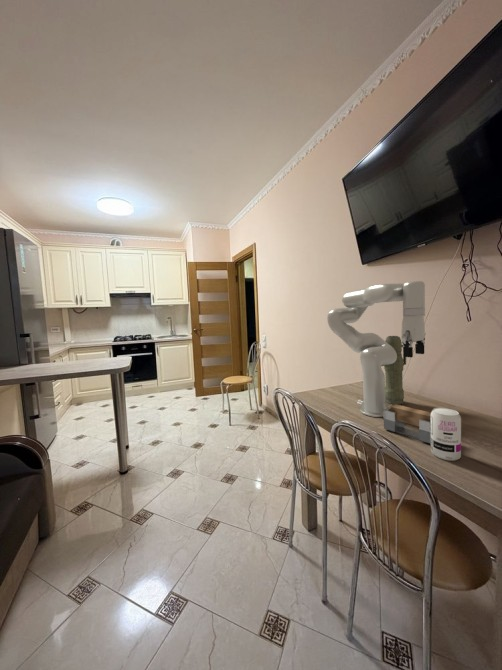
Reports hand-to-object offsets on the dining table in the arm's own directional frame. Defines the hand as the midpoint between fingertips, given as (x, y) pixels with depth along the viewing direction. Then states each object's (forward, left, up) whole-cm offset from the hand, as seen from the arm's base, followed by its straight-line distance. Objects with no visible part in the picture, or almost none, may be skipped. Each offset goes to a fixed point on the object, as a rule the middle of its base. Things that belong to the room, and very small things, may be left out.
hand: (414, 355), depth 108 cm
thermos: (-21, +24, -31) cm, 44 cm away
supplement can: (+16, -14, -31) cm, 37 cm away
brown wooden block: (+2, -7, -25) cm, 26 cm away
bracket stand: (+2, -7, -30) cm, 31 cm away
